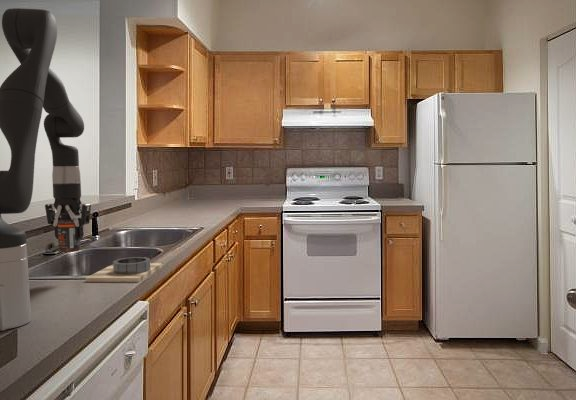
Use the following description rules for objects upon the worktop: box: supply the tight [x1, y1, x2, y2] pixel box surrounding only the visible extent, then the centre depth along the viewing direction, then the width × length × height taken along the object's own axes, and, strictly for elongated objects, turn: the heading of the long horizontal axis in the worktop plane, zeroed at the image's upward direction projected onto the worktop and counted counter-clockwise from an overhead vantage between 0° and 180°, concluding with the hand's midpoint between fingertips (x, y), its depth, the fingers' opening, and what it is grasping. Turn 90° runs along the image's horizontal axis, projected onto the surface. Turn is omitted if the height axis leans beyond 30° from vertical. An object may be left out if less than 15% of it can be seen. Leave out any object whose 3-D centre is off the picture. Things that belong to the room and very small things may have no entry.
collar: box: [112, 256, 151, 274], centre depth 155 cm, size 11×11×3 cm
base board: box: [85, 262, 163, 283], centre depth 155 cm, size 20×16×1 cm
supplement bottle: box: [57, 213, 81, 253], centre depth 147 cm, size 6×6×11 cm
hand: (69, 238), depth 147 cm, fingers closed on supplement bottle, 6 cm apart
